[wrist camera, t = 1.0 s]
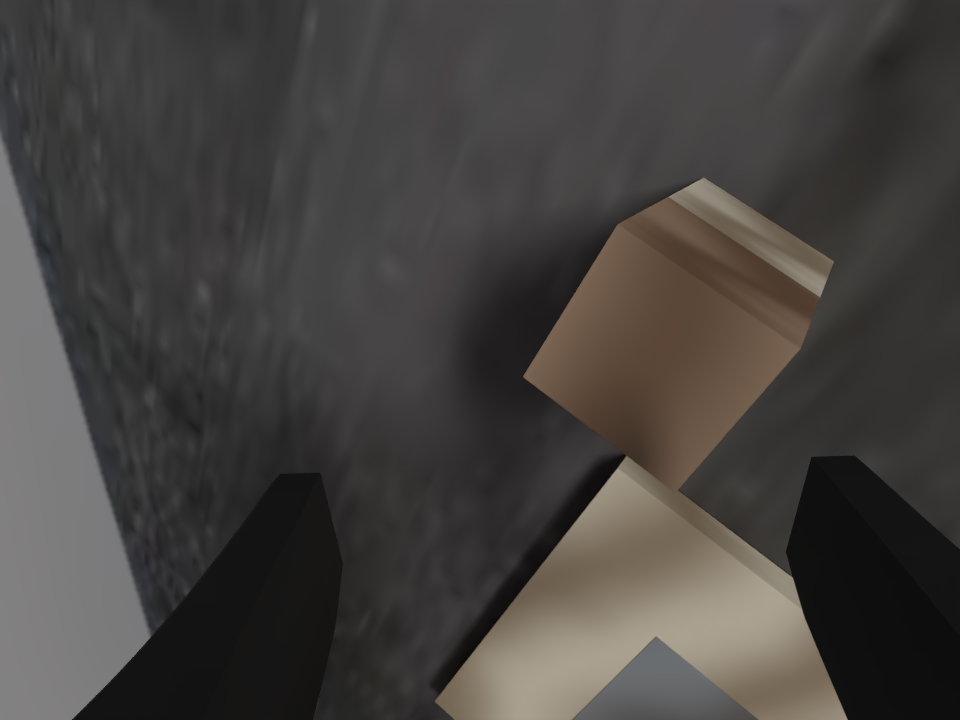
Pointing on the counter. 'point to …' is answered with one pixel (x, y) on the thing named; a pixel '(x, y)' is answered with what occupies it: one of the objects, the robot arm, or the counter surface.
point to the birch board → (648, 625)
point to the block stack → (681, 327)
